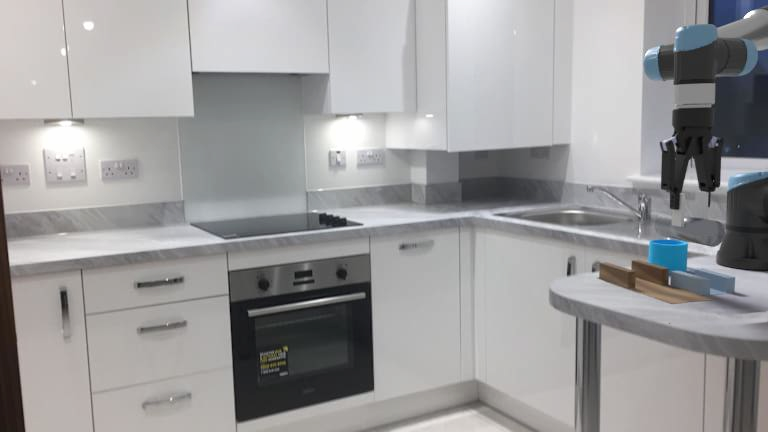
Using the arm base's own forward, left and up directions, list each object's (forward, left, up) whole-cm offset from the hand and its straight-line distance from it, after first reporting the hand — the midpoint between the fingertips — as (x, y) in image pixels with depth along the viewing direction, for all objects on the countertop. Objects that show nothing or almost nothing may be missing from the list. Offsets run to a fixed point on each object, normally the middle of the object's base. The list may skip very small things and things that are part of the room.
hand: (689, 224), depth 140 cm
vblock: (-4, 0, -15) cm, 16 cm away
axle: (+1, 0, -3) cm, 3 cm away
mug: (-11, -18, -15) cm, 26 cm away
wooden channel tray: (+5, -5, -15) cm, 17 cm away
